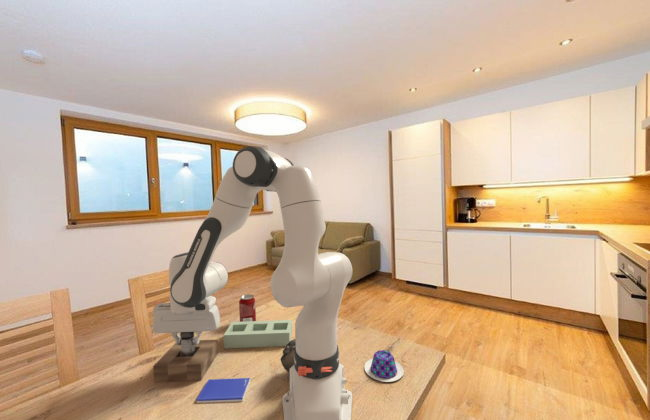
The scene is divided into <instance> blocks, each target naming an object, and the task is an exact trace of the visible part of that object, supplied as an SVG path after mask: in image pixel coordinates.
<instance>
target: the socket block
mask: <svg viewBox="0 0 650 420" xmlns="http://www.w3.org/2000/svg"><path fill="white" fill-rule="evenodd" d="M218 354H219V340H218V339H200V341H199V343H198V344H195V354H194V356H190V357H181V345H176V342H175V343H174V344H173V345H172V346H171V347H170V348H169V349H168V350H167V351H166V352H165V353H164V354H163V356H161V358H160V359H158V361H156V363H155V364H154V365H153V366H152V367H153V368H152V369H153V371H152V372H153V383H167V382H168V383H169V382H189V381H190V382H191V381H193V382H194V381H202V380H203V379H204V377H205V375H206V373H207V372H208V371H209V369H210V367H211V366H212V364H213V363H214V361H215V359H216V357H217V356H218Z"/></svg>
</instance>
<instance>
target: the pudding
mask: <svg viewBox="0 0 650 420" xmlns="http://www.w3.org/2000/svg"><path fill="white" fill-rule="evenodd" d="M363 366H364V368H363V369H364V371H365V373H366V374H367V375H368V376H369V377H370V378H371V379H374V380H376V381H379V382H385V383H389V382H390V383H391V382H395V381H398V380H401V378H402V377H403V375H404V373H405V371H404V368H403V366H402V365H401V364H400V363H399V362H398V361H396V360H395V357H394V355H393V354H392V353H391V352H390V351H388V350H386V349H385V350H384V349H383V350H381V349H379V350H377V351H376V352H374V353H373V356H372V358H370V359H368V360H367V361H366V362H365V363H364V365H363Z"/></svg>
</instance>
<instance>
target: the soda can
mask: <svg viewBox="0 0 650 420" xmlns="http://www.w3.org/2000/svg"><path fill="white" fill-rule="evenodd" d="M238 303H239V305H238V307H239V308H238V309H239V322H246V321H257V319H256V318H257V316H256V315H257V312H256V310H257V309H256V308H257V307H256V299H255V297H254V295H253V294H250V293H249V294H244V295H241V296H240V299H239V302H238Z"/></svg>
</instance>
